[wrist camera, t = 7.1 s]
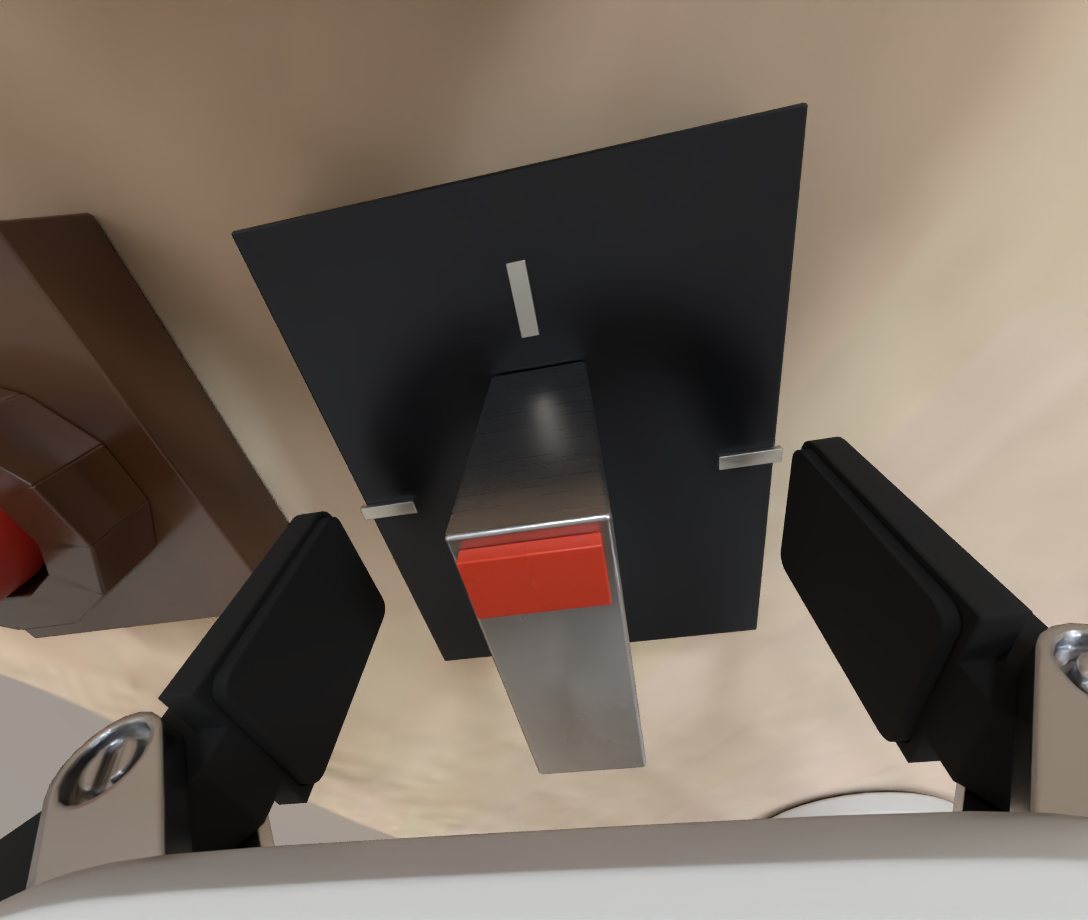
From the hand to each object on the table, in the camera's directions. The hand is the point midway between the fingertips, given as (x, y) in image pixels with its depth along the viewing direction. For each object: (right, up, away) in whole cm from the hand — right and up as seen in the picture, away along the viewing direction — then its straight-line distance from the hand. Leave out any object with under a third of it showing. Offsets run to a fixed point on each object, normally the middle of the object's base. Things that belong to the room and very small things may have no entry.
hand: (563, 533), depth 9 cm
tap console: (0, +2, +4) cm, 4 cm away
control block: (-14, +2, +4) cm, 15 cm away
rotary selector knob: (0, +1, +2) cm, 2 cm away
